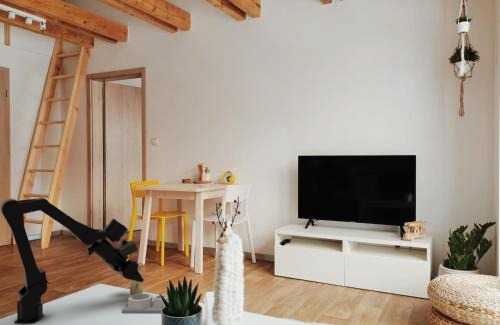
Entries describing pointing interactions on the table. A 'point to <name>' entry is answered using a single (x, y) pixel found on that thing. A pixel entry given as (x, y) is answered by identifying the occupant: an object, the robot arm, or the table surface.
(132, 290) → the gold metal cylinder
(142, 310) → the manifold plate
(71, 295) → the table surface
